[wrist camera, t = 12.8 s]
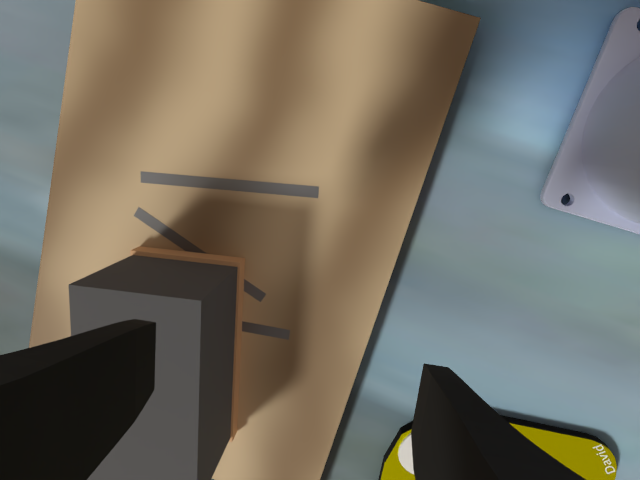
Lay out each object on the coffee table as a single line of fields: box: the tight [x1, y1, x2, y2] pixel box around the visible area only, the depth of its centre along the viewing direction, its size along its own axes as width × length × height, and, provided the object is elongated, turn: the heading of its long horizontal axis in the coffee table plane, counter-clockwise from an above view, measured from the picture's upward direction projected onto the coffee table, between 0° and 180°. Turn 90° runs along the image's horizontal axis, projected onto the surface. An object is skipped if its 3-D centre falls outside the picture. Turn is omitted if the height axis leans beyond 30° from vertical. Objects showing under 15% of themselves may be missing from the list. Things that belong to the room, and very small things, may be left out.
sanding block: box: [69, 246, 245, 480], centre depth 18 cm, size 5×9×5 cm, turn 175°
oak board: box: [29, 0, 481, 480], centre depth 20 cm, size 16×24×1 cm, turn 164°
